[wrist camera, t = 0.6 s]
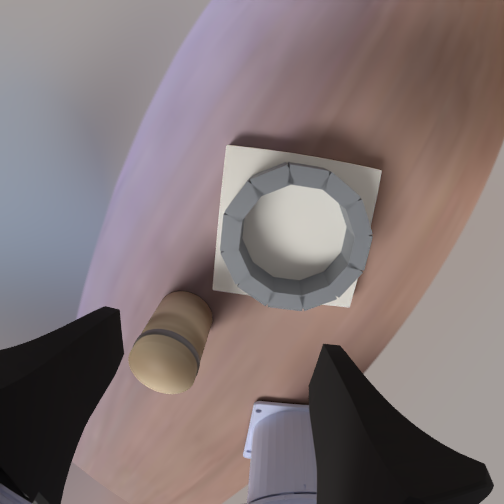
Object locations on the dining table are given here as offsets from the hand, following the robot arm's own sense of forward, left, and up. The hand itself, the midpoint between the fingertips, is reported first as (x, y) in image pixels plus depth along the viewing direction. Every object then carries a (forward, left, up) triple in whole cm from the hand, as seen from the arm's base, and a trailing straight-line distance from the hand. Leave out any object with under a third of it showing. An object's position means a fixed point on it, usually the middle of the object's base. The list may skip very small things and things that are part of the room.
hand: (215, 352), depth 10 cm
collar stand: (+2, -3, -10) cm, 11 cm away
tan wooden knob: (-6, +4, -10) cm, 12 cm away
